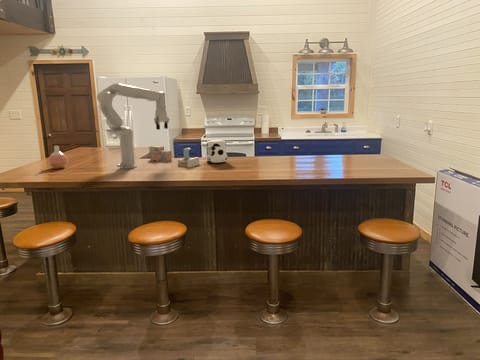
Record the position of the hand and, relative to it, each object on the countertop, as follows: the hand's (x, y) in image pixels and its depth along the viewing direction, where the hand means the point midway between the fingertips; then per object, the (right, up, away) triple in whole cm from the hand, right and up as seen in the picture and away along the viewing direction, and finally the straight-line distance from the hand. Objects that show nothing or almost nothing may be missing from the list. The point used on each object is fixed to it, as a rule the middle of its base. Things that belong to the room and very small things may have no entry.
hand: (162, 129), depth 288 cm
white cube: (+44, -28, +2) cm, 52 cm away
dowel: (+22, -29, -10) cm, 37 cm away
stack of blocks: (-5, -25, +17) cm, 31 cm away
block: (+22, -30, -10) cm, 38 cm away
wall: (+27, -31, -12) cm, 43 cm away
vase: (-78, -33, -11) cm, 86 cm away
